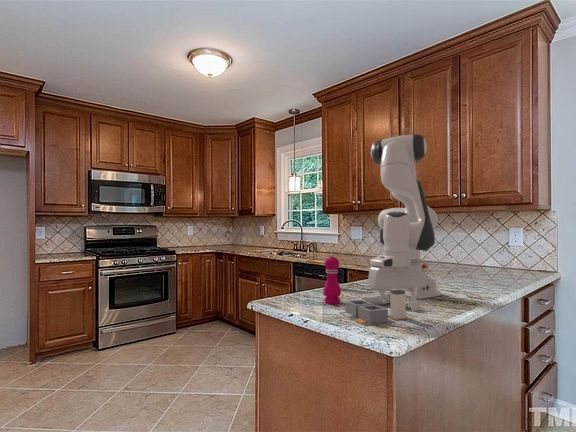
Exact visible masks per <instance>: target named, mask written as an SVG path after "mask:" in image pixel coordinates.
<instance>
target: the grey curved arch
mask: <svg viewBox="0 0 576 432" xmlns="http://www.w3.org/2000/svg"><path fill="white" fill-rule="evenodd" d="M403 291H404V290H403ZM407 293H408V292H407V291H405V295H407ZM385 295H386V297H388V298H389V300H388V301H389V303H390V292H386V293H385ZM361 299H362V300H364V301H367V302H370V303H373V305H378V306H380V305H388V304H389V303H382V297H381V295H380V294H379V292H370V293H365V294H362V296H361ZM409 303H410V309H411V312H413V313H414V312H415V313H416V312H418V311H421V306H420V303H419V300H418V298H415V297H414V296H413V295H412V301H409Z"/></svg>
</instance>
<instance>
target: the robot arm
mask: <svg viewBox="0 0 576 432" xmlns="http://www.w3.org/2000/svg"><path fill="white" fill-rule="evenodd" d="M427 151H428V143H427V141H426V139H425V136H424V135H422V134H419V133H418V134H417V133H413V134H404V135H396V136H393V137H388V138H384V139H378V140H376V141H373V143H372V144H371V148H370V156H371V157H370V158H372V161H373V163H374V164H376V165H379V166H380V179H381V180H380V182H381V184H382V186H384V188H386V189H387V190H388V191H389V192H390V193H391V196H392V197H393V198H394V199H395V200H397V201H399V202H401V203H402V204H403V205H404V206H405V207H391V208H386V209H383V210H381V212H380V213H379V214H378V217H377V223H378V226H379V243H380V244H381V245H382V246H383V249H382V254H380V255H378V256H375V257H373V258H370V261H369V263H370V266H371V267H369V271H368V287H369V288H370V289H371V290H374V291H378V293H379V294H380V295H381V297H382V303H388V304H389V303H390V302H389V301H388V300H389V298H388V297H386V295H385V293H387V290H395V289H400V290H404V291H407V292H408V293H407V295H405V302H410V301H412V295H413V296H414V297H415V298H416V299H417V300H418V299H419V300H423V299H429V298H434V297H440V296H442V295H443V293H442V292H441V291H439V290H437V284H436V281H435V280H434V278H432V277H431V276H429V275H428V274H427V273H426V272H425V271H424V269H425V270H427V269H428V268H429V265H428V264H425V263H422V262H421V251H424V252H426V251H428V250H430V249H431V248H432V247H433V246H434V245H435V242H436V233H435V228H436V227H437V225H438V214H437V213H436V211H435V210H434V209H433V208H431V207H429V205H428V204H427V200H426V196H425V192H424V189H423V186H422V184H421V182H420V180H418V177H417V170H416V165H415V164H417V163H418V162H419V161H421V160H422V159H423V158H424V157H425V156H426V153H427Z"/></svg>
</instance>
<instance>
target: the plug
mask: <svg viewBox="0 0 576 432" xmlns="http://www.w3.org/2000/svg"><path fill="white" fill-rule="evenodd" d="M389 291H390V292H389V293H390V302H389V303H390V315H391V317H392V318H395V319H404V318H406V315H407V314H406V300H405V291H403V290H400V289H395V290H392V289H389Z"/></svg>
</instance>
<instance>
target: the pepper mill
mask: <svg viewBox="0 0 576 432" xmlns="http://www.w3.org/2000/svg"><path fill="white" fill-rule="evenodd" d="M334 254H335V253H332V252H331V253H330V254H329V257H327V258H326V259H325V260H324V266H325V268H326V269H325V273H326V282H325V284H324V287H323V292H322V293H323V295H324V303H325V304H329V305H337V304H338V305H339V304H340V303H341V298H340V296H341V293H342V289H341V286H340V284H339V282H338V273H339V270H338V268H339V267H340V260H339V259H338V258H337V257H334V256H335V255H334Z"/></svg>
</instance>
